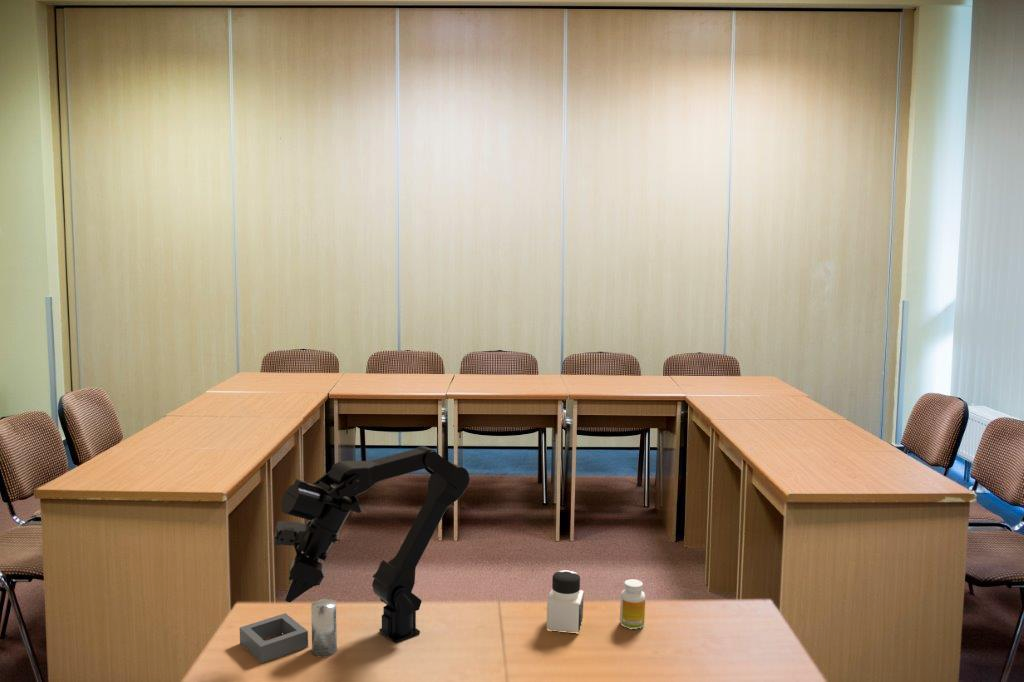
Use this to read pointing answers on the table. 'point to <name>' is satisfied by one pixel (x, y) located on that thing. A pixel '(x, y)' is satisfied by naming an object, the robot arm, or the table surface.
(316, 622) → the steel shaft
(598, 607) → the table surface
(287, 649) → the grey square frame
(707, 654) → the table surface
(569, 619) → the medicine bottle
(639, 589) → the supplement bottle
